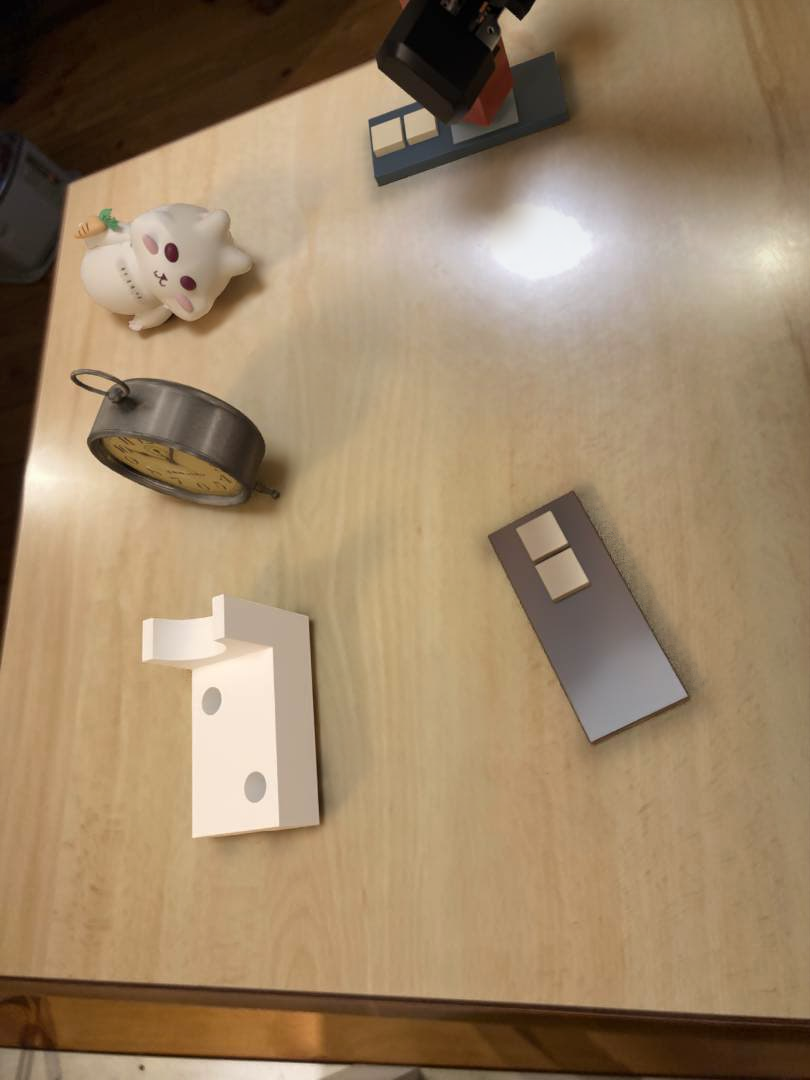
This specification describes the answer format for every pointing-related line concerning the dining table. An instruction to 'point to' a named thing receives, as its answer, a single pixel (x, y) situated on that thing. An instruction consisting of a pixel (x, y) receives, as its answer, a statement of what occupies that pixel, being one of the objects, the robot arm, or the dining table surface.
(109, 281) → the cat figurine
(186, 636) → the bracket
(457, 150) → the board
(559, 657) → the board
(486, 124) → the terracotta brick
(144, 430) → the alarm clock
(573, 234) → the dining table surface
